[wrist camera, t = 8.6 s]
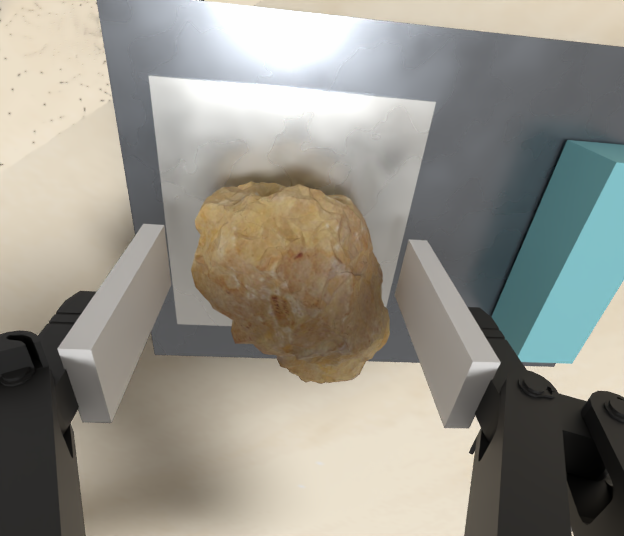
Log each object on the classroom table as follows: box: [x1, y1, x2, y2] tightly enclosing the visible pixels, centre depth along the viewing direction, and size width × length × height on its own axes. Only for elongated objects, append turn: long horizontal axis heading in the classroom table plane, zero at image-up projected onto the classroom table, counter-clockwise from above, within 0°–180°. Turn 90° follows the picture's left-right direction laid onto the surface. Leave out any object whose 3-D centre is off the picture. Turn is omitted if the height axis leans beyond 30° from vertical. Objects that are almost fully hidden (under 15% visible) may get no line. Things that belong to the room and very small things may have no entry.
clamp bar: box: [492, 140, 624, 364], centre depth 18 cm, size 3×10×3 cm, turn 175°
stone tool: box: [191, 182, 390, 384], centre depth 18 cm, size 9×7×10 cm
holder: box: [97, 0, 624, 367], centre depth 19 cm, size 24×17×1 cm
